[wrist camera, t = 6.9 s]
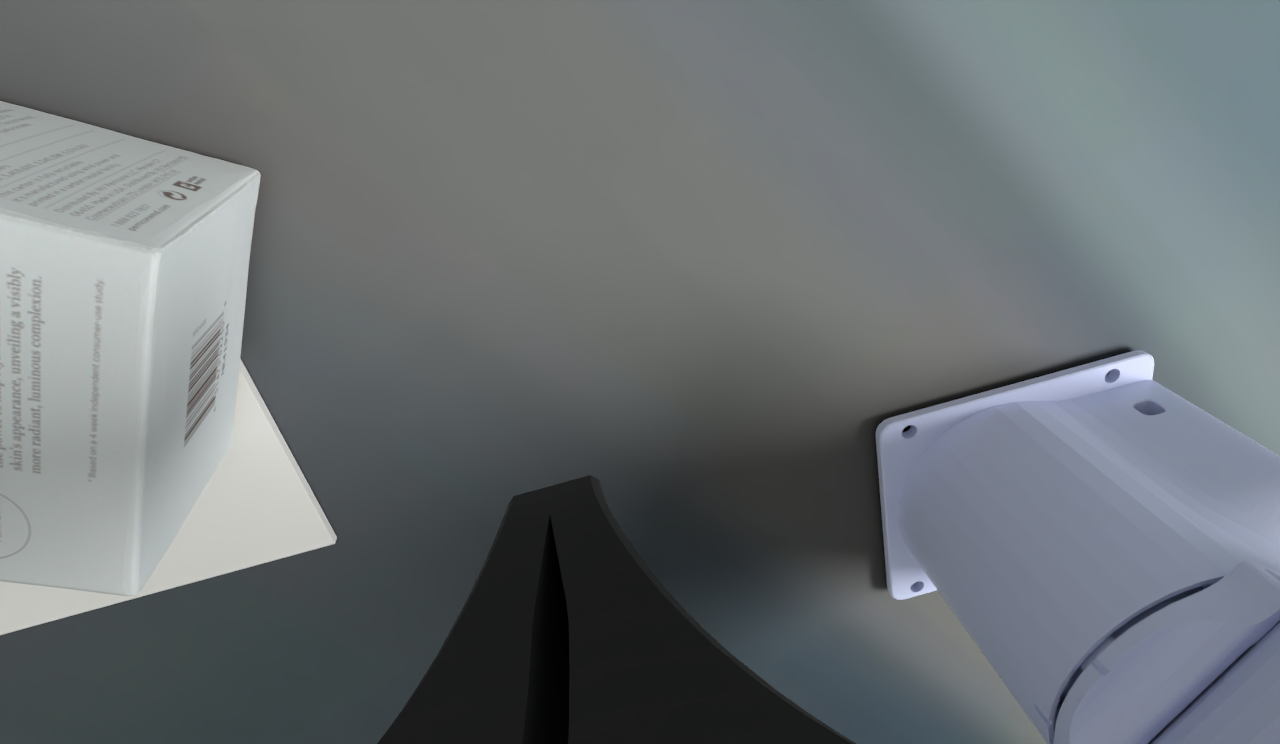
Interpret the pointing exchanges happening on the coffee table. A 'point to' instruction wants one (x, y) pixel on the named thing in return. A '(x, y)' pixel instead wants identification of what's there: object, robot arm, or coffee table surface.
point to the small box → (112, 345)
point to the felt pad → (211, 522)
